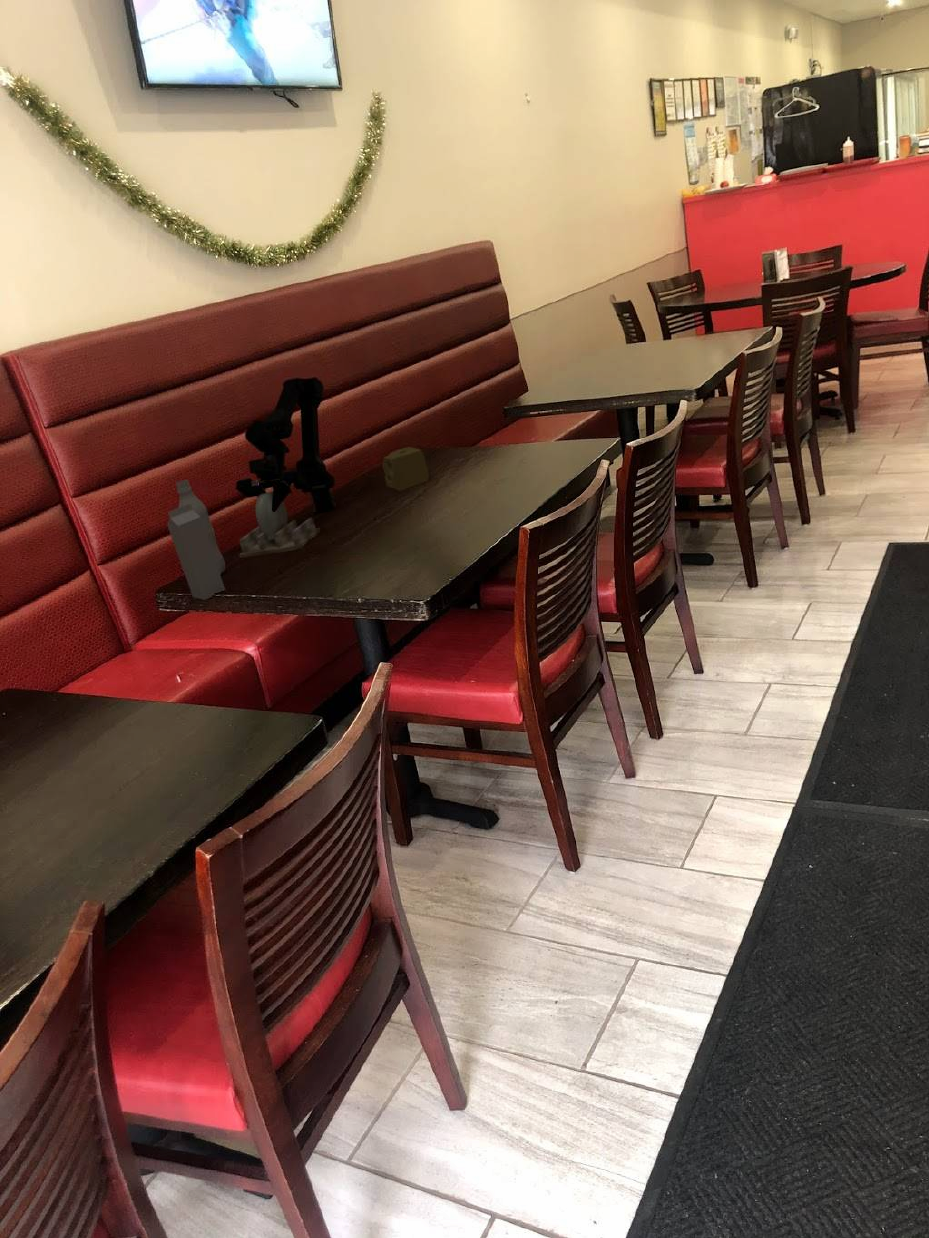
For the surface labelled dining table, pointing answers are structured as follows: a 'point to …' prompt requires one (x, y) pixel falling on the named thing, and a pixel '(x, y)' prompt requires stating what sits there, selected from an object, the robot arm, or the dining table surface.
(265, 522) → the plate
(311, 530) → the dish rack
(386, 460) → the cheese
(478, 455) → the dining table surface
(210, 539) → the water bottle
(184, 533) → the milk
